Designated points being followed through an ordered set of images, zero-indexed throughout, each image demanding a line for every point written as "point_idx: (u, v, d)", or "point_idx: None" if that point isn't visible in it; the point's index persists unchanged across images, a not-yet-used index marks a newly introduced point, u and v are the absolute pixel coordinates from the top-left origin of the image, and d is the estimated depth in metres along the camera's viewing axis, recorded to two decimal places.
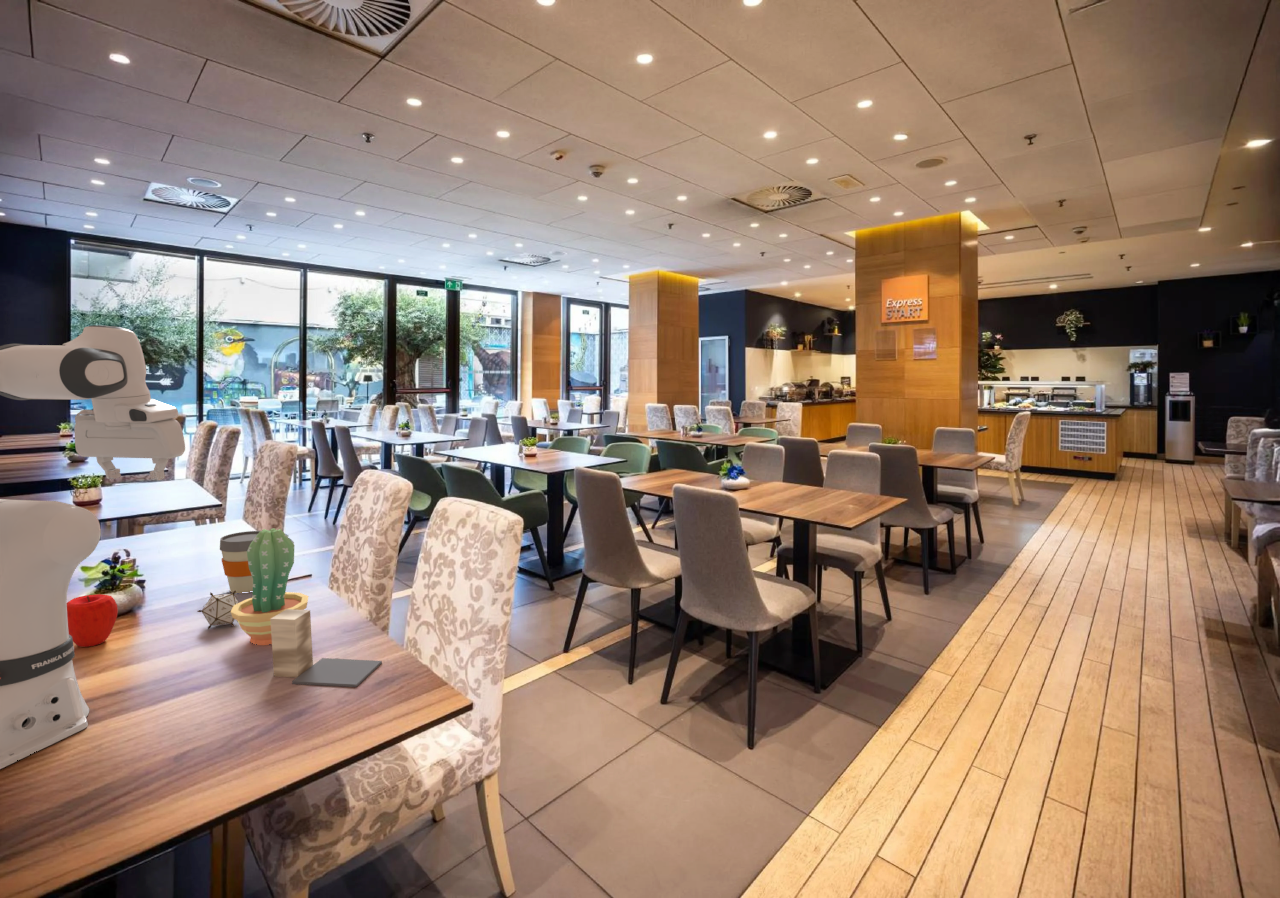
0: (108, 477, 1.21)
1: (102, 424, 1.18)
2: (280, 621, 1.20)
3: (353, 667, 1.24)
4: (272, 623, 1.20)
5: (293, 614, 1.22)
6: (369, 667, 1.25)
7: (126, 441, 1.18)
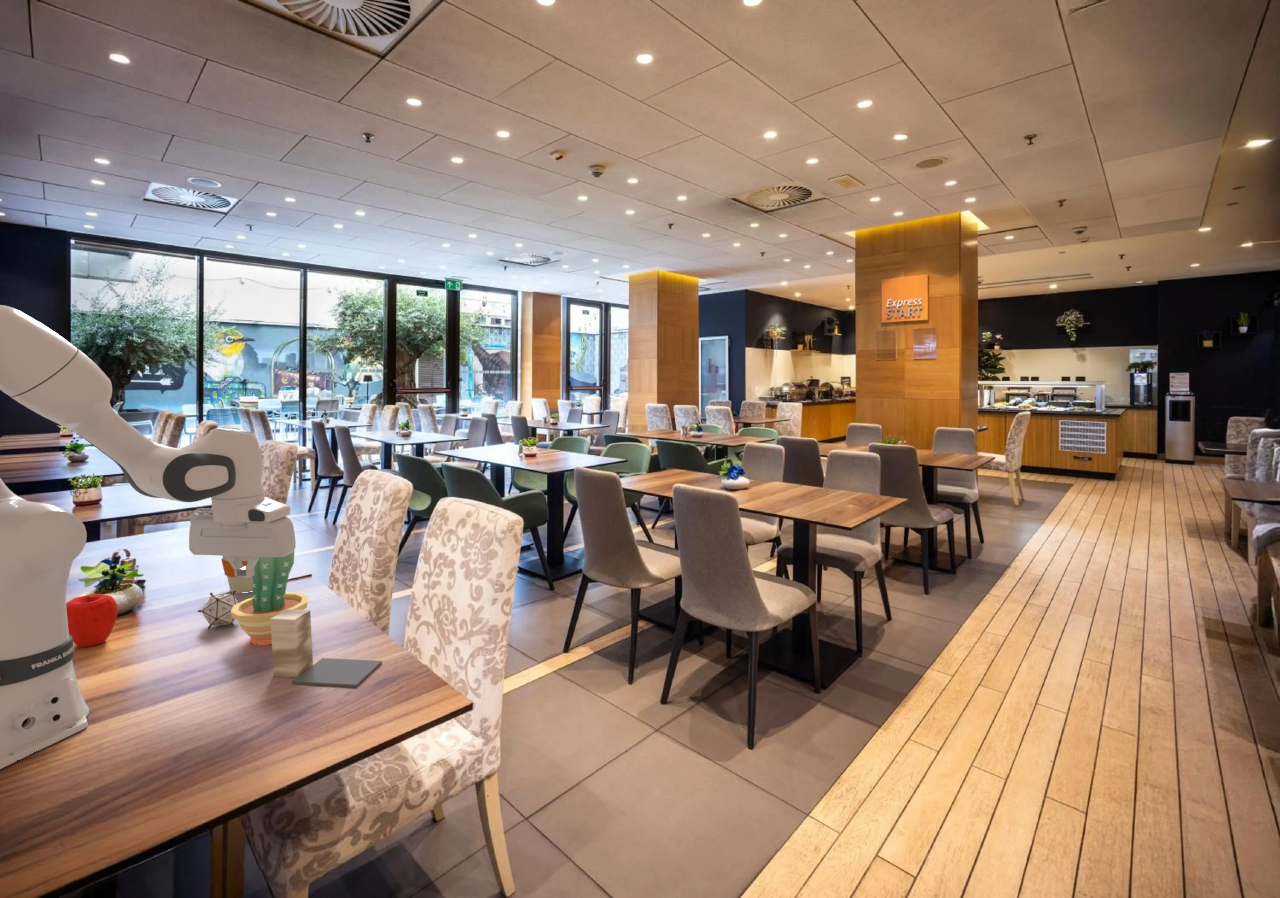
0: (237, 575, 1.22)
1: (218, 523, 1.19)
2: (280, 621, 1.20)
3: (353, 667, 1.24)
4: (272, 623, 1.20)
5: (293, 614, 1.22)
6: (369, 667, 1.25)
7: (240, 540, 1.20)
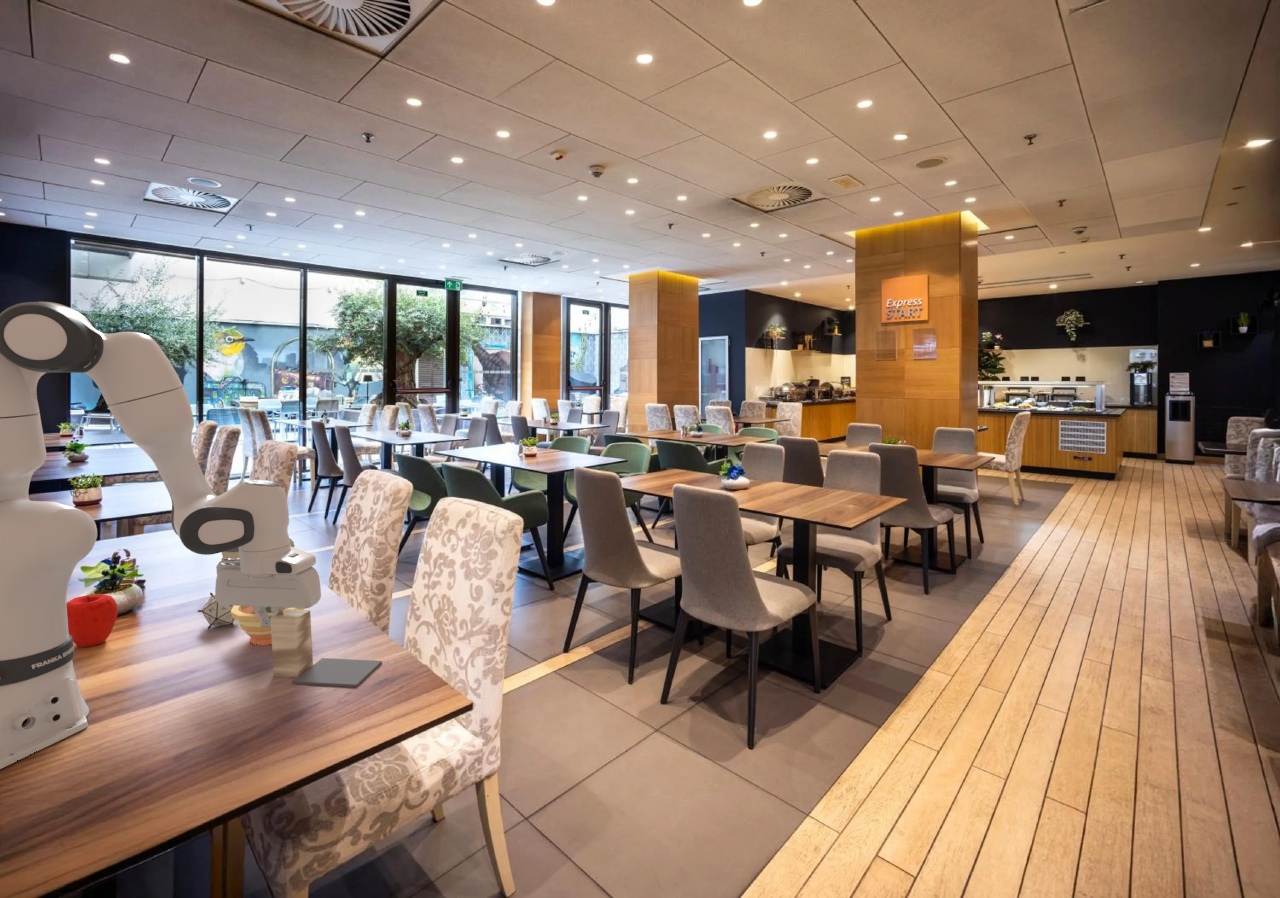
0: (263, 625, 1.22)
1: (245, 574, 1.20)
2: (280, 621, 1.20)
3: (353, 667, 1.24)
4: (272, 623, 1.20)
5: (293, 614, 1.22)
6: (369, 667, 1.25)
7: (267, 591, 1.20)
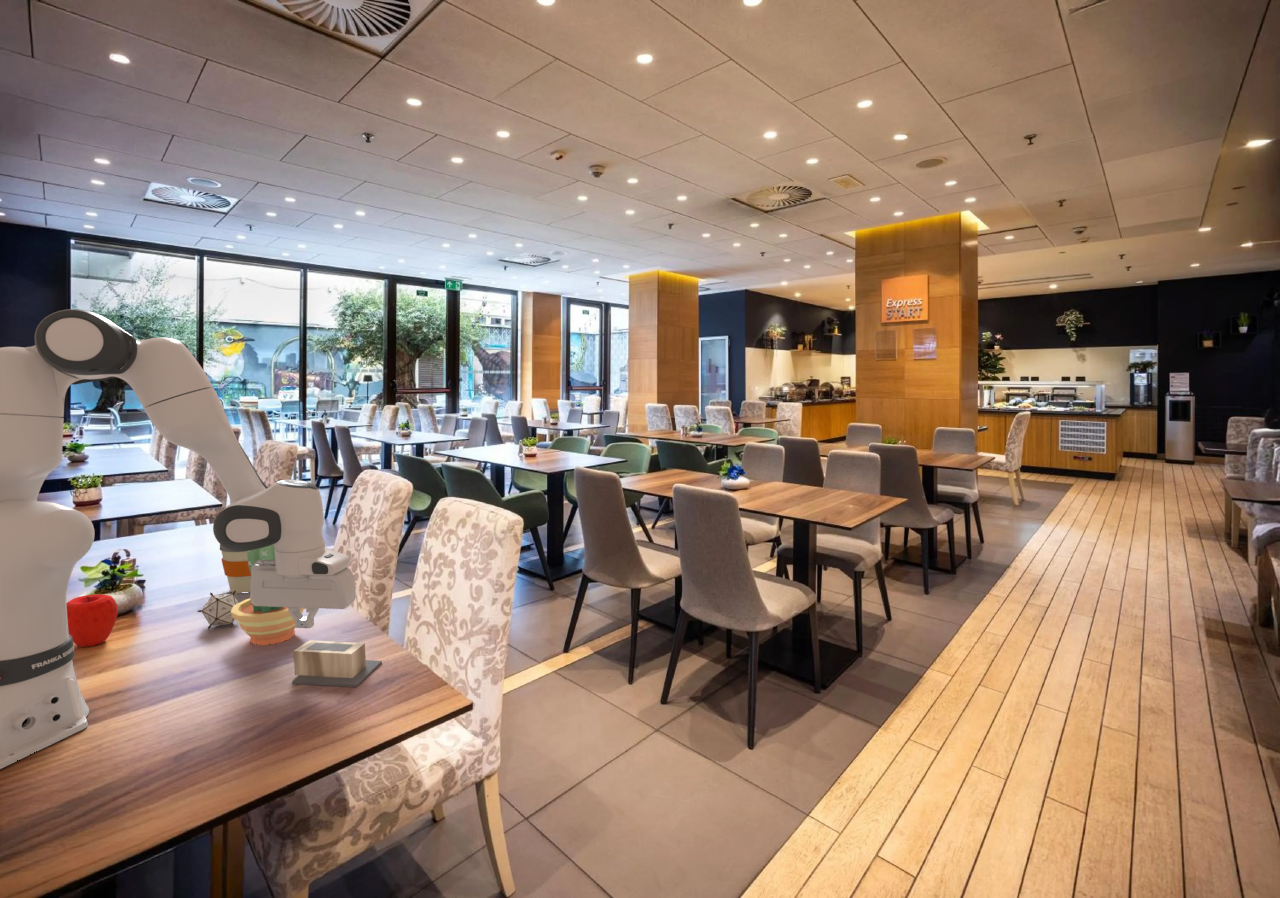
0: (297, 626, 1.22)
1: (280, 575, 1.20)
2: (348, 663, 1.20)
3: None
4: (346, 655, 1.20)
5: (358, 663, 1.22)
6: (369, 667, 1.25)
7: (302, 592, 1.20)
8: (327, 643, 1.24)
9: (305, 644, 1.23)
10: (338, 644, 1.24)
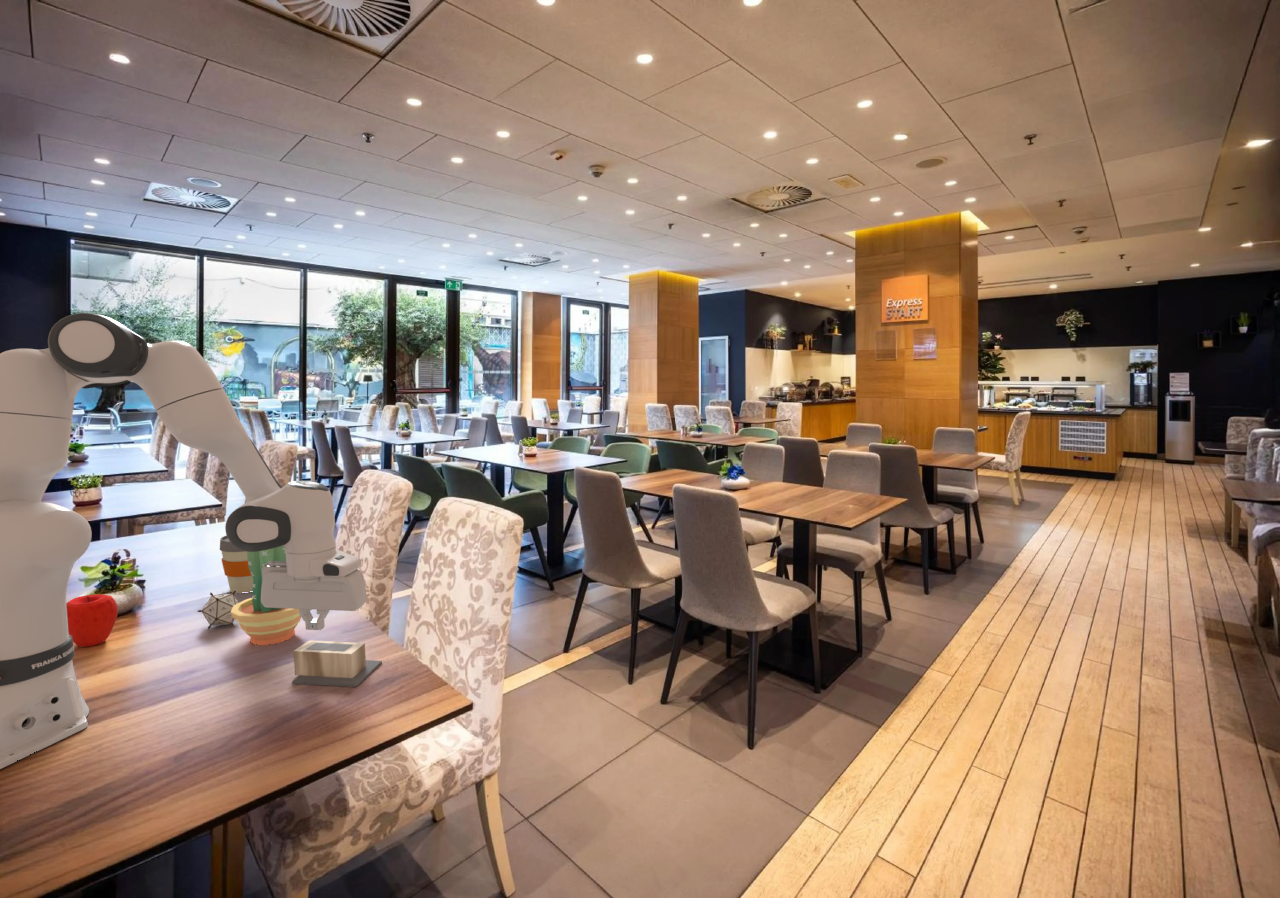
0: (308, 628, 1.21)
1: (291, 576, 1.20)
2: (348, 663, 1.20)
3: None
4: (346, 655, 1.20)
5: (358, 663, 1.22)
6: (369, 667, 1.25)
7: (313, 593, 1.20)
8: (327, 643, 1.24)
9: (305, 644, 1.23)
10: (338, 644, 1.24)
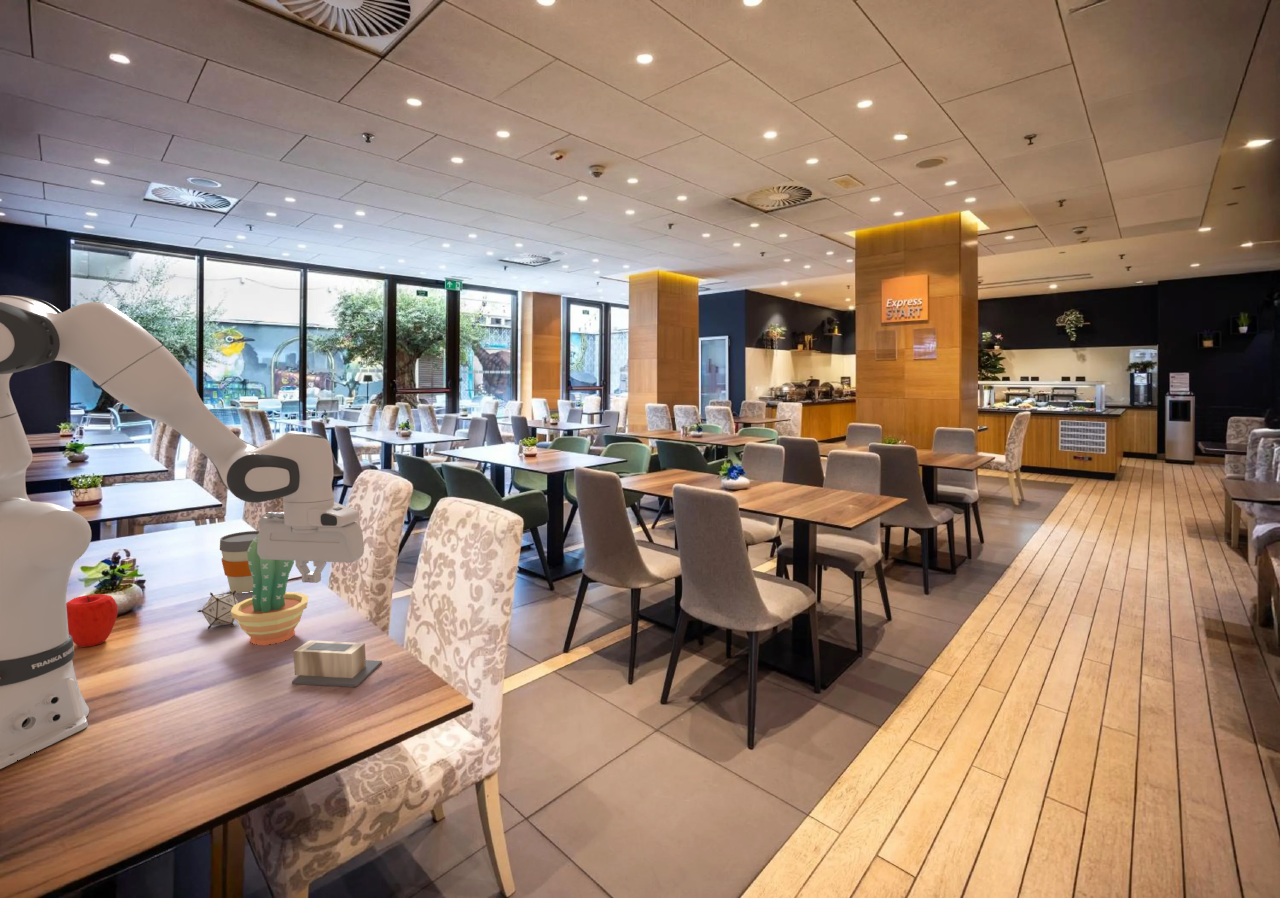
0: (304, 581, 1.20)
1: (288, 527, 1.19)
2: (348, 663, 1.20)
3: None
4: (346, 655, 1.20)
5: (358, 663, 1.22)
6: (369, 667, 1.25)
7: (310, 544, 1.19)
8: (327, 643, 1.24)
9: (305, 644, 1.23)
10: (338, 644, 1.24)
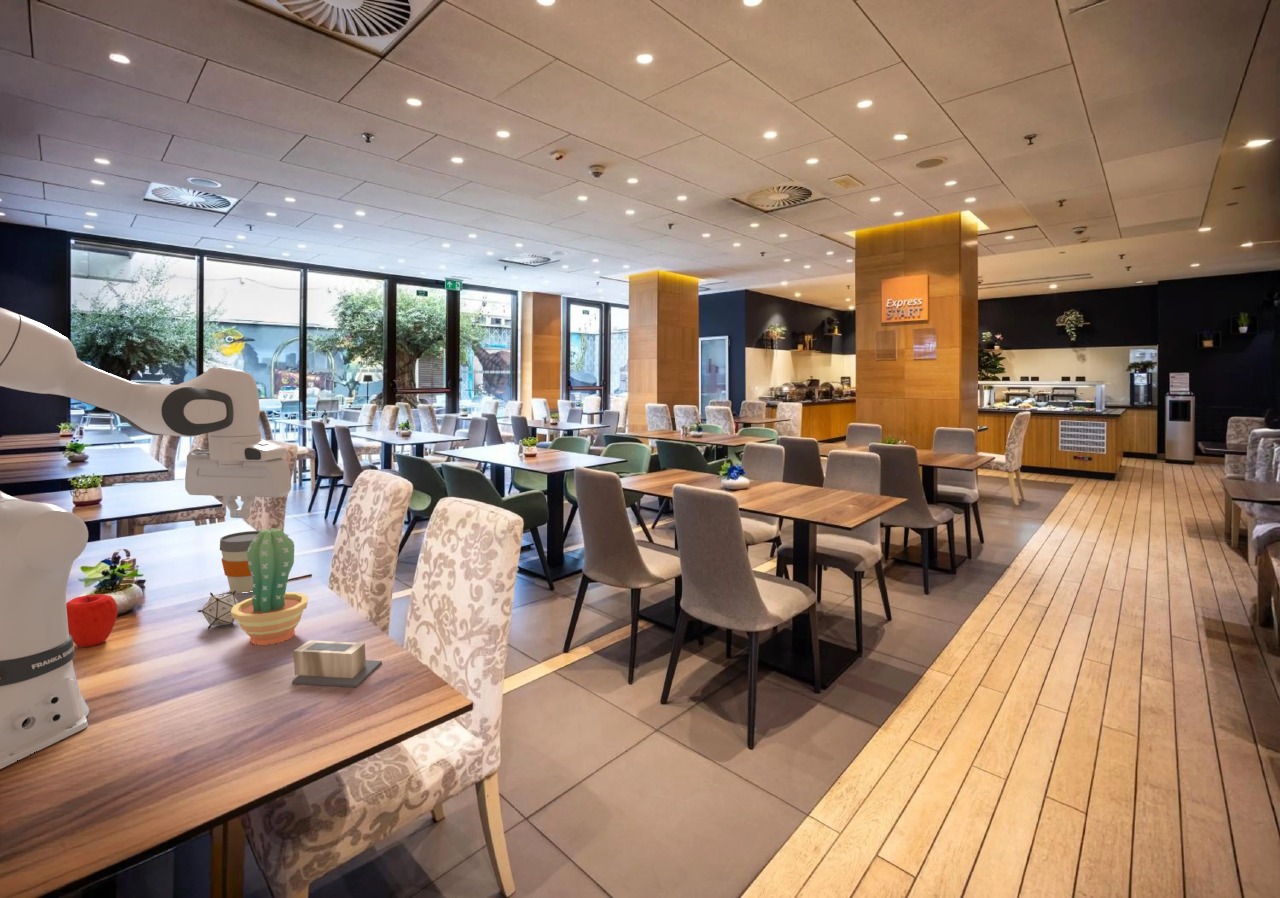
0: (232, 516, 1.22)
1: (214, 463, 1.20)
2: (348, 663, 1.20)
3: None
4: (346, 655, 1.20)
5: (358, 663, 1.22)
6: (369, 667, 1.25)
7: (236, 479, 1.20)
8: (327, 643, 1.24)
9: (305, 644, 1.23)
10: (338, 644, 1.24)
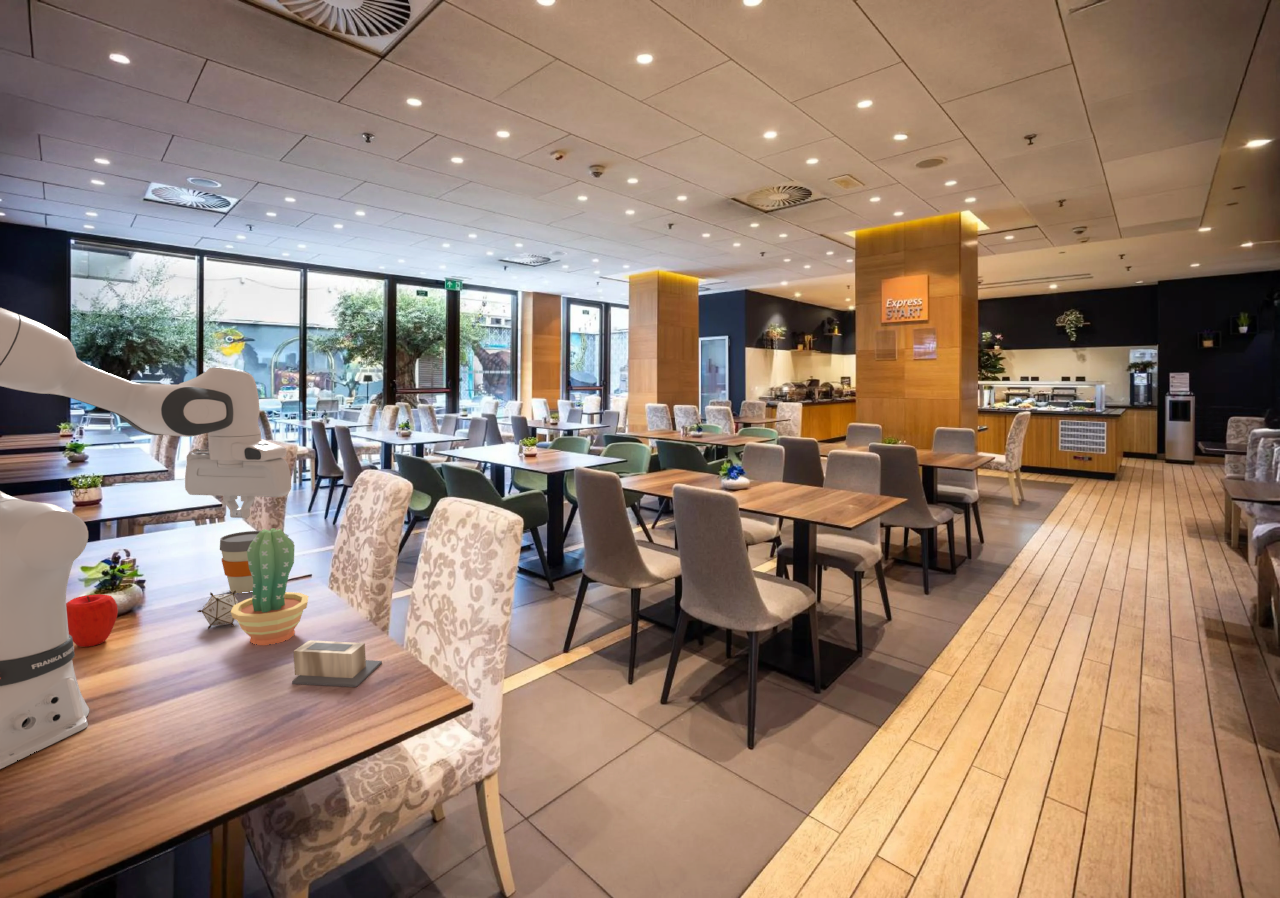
0: (232, 516, 1.22)
1: (214, 462, 1.20)
2: (348, 663, 1.20)
3: None
4: (346, 655, 1.20)
5: (358, 663, 1.22)
6: (369, 667, 1.25)
7: (236, 479, 1.20)
8: (327, 643, 1.24)
9: (305, 644, 1.23)
10: (338, 644, 1.24)
